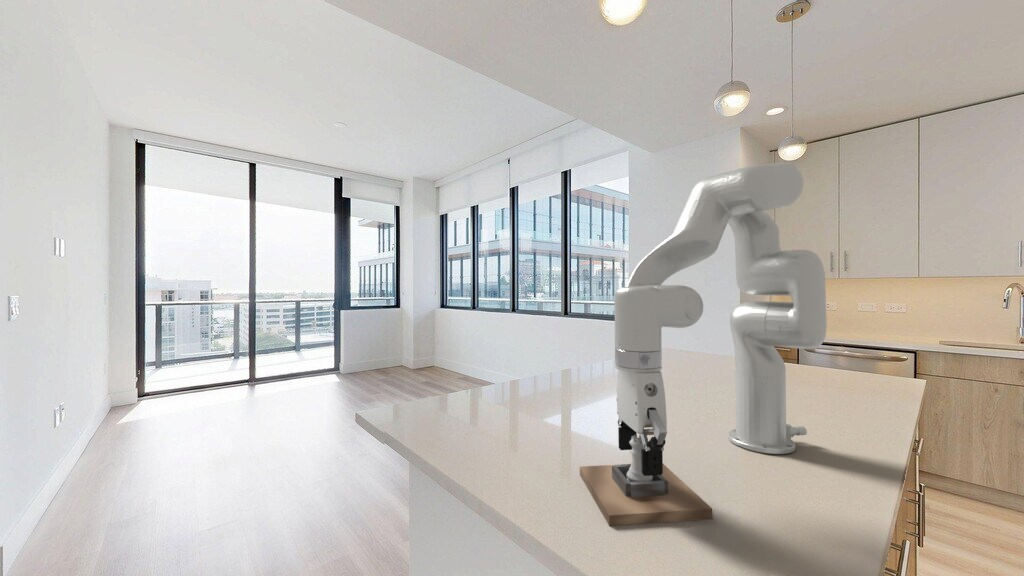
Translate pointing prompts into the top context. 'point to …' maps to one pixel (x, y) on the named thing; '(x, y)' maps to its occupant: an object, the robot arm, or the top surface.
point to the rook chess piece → (636, 462)
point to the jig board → (642, 496)
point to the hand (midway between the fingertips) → (639, 461)
